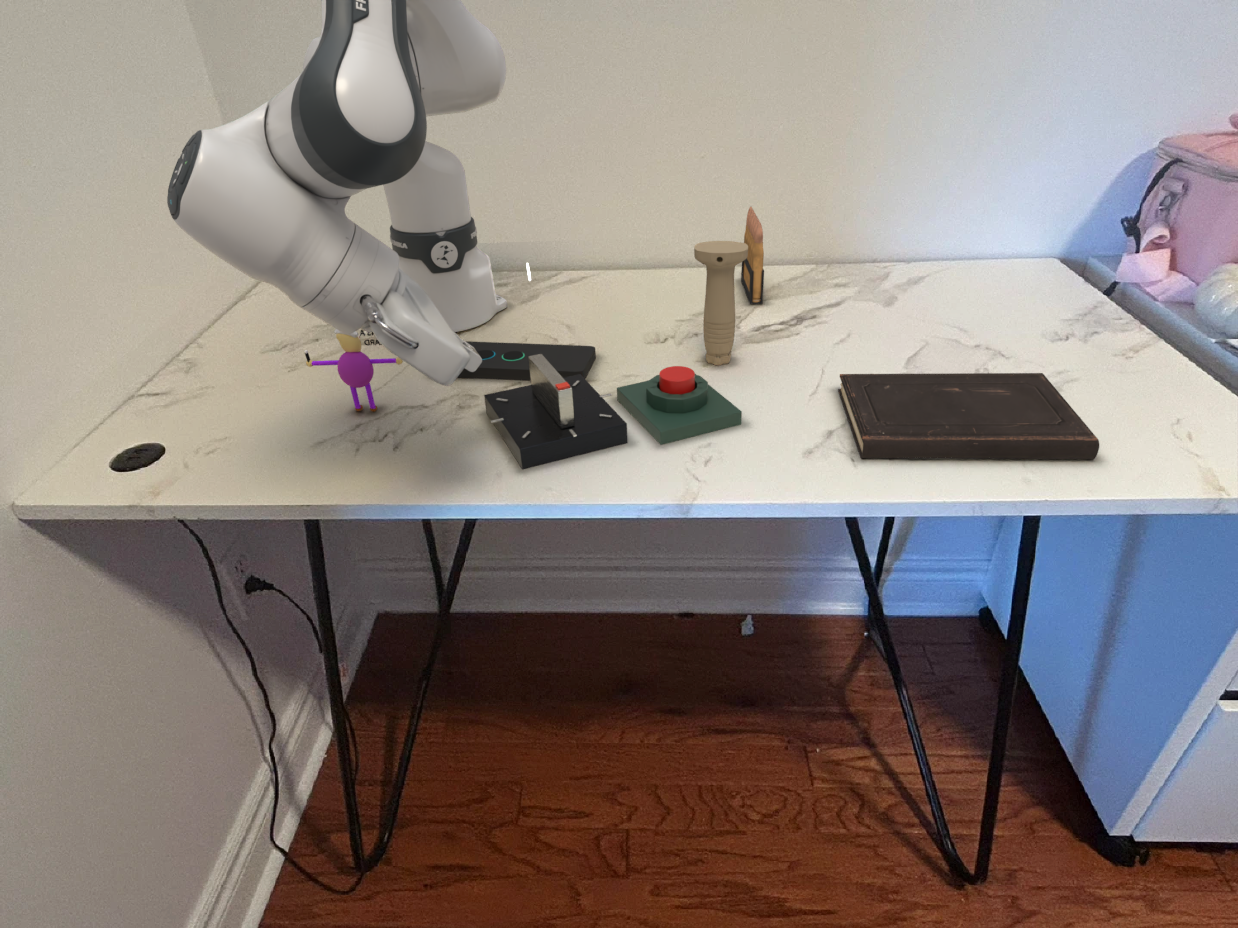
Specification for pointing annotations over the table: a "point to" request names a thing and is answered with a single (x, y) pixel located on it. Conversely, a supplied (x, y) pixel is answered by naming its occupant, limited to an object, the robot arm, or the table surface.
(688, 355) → the table surface
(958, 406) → the hardcover book
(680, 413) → the button box
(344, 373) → the wizard figurine
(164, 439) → the table surface
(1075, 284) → the table surface
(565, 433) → the control panel
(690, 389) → the button
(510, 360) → the smart home device
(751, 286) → the ammunition clip
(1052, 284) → the table surface
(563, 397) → the knob
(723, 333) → the handle
